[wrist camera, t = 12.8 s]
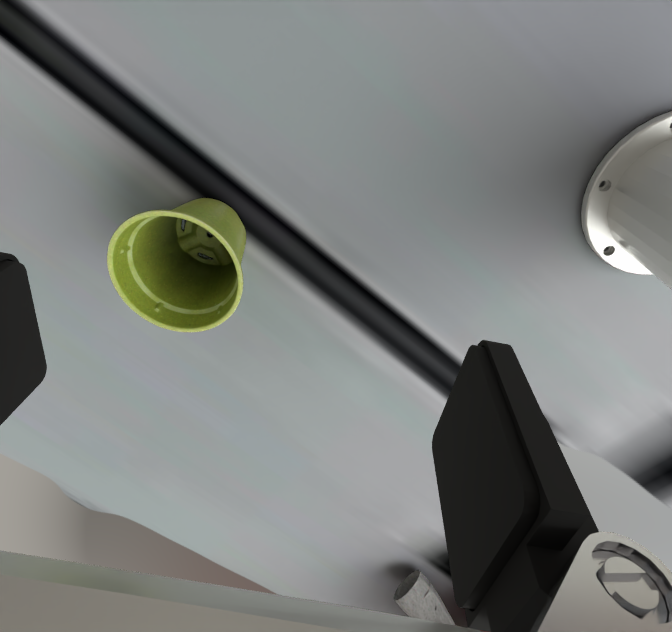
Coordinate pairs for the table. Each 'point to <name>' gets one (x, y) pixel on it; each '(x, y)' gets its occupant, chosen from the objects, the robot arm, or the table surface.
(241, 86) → the table surface
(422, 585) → the bouquet
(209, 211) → the plant pot
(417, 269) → the table surface
